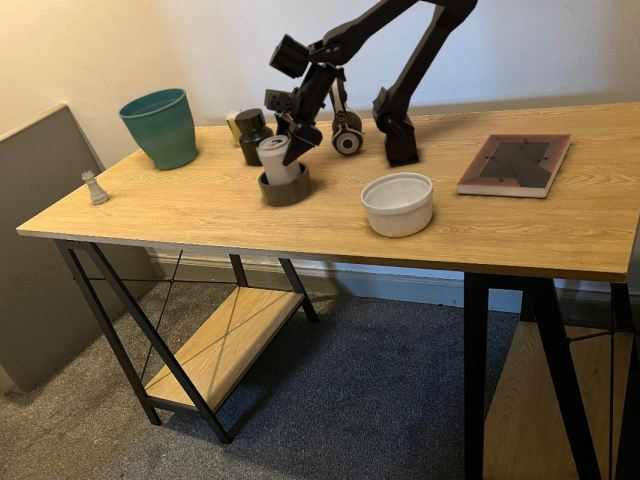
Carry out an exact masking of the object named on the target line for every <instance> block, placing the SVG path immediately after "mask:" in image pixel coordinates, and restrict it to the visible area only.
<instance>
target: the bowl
mask: <svg viewBox="0 0 640 480" xmlns="http://www.w3.org/2000/svg"><path fill="white" fill-rule="evenodd" d="M298 163H299V167H300V170H301V173H302V175H301V176H299V177H298V178H296V179H294V180H292V181H290V182H287V183H284V184H279V185H269V182H268V179H267V176H266V173H265V170H264V171H263V172H262V173H261V174H260V175H259V176H258V178H257V182H258V185H259V188H260V191H261V194H262V196H263V200H264V202H265V203H266V205H267V206H270V207H275V208H282V207H288V206H292V205H295V204H298V203H301V202H302V201H304V200H306V199H307V198H309V197H310V196H311V195H312V193H313V191H314V188H315V187H314V183H313V179H312V176H311V172H310V169H309V166H308V164H307V163H305V162H303V161H298Z"/></svg>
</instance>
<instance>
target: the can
mask: <svg viewBox="0 0 640 480" xmlns="http://www.w3.org/2000/svg"><path fill="white" fill-rule="evenodd" d="M289 141H290V139H289V140H288V137H286V136H284V135H278V136H273V137H270V138H267V139H265V140H264V141H262V142H261V143H260V145H259V147H260V150H259V156H260V159H261V162H262V165H261V166H262V168H263V170H264V171H265V173H266V176H267V179H268V182H269V185H279V184H284V183H287V182H290V181H292V180H294V179H296V178H298V177H299V176H301V175H302V173H301V170H300V167H299V163H298V162H299V161H298V158H297V159H296V160H295V161H293V162H292V163H291V164H289V165H288V166H284V165H282V161H283V158H284V155H285V152H286V150H287V147H288V144H289Z"/></svg>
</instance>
